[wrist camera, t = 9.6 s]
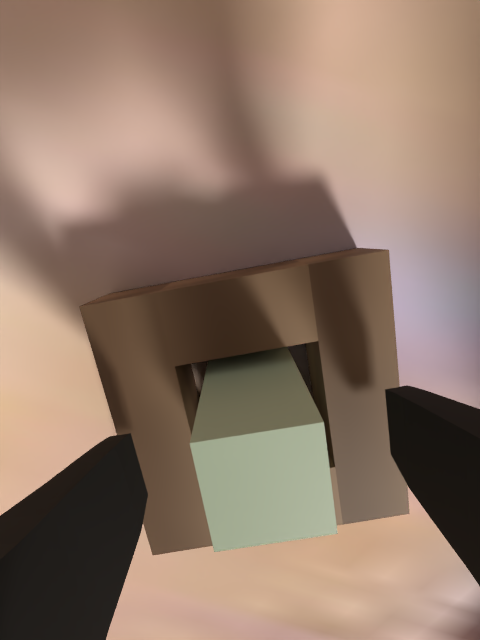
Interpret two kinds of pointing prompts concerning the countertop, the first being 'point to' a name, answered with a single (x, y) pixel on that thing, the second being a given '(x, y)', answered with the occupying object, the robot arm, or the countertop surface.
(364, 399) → the brown square frame
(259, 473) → the sage peg
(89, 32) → the countertop surface
